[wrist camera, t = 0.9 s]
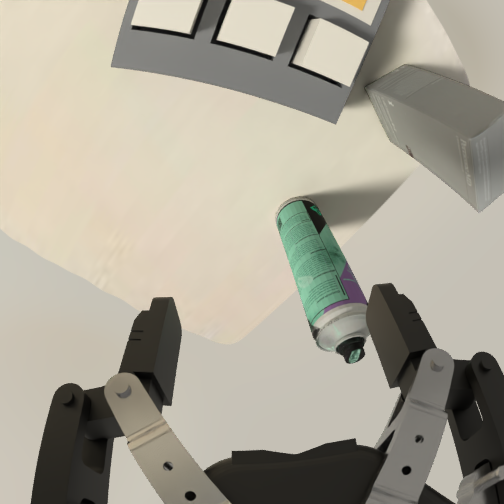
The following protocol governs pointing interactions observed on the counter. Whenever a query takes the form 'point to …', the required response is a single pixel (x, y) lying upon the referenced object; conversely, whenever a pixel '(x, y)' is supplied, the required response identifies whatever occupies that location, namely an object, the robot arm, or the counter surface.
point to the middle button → (256, 24)
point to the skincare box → (445, 129)
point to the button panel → (250, 54)
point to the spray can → (323, 280)
